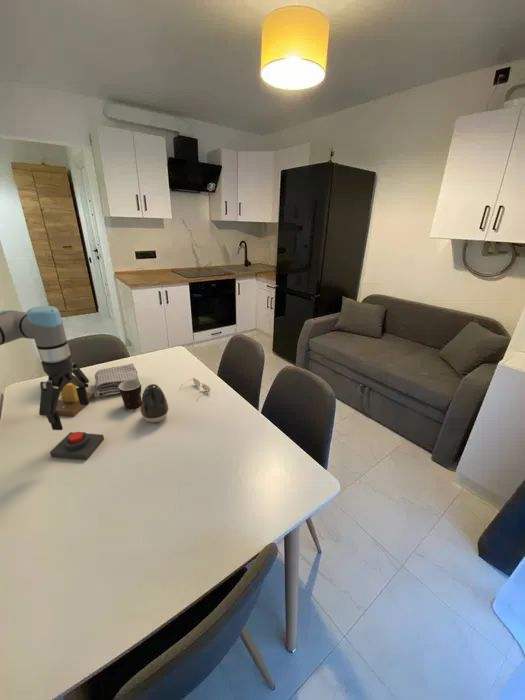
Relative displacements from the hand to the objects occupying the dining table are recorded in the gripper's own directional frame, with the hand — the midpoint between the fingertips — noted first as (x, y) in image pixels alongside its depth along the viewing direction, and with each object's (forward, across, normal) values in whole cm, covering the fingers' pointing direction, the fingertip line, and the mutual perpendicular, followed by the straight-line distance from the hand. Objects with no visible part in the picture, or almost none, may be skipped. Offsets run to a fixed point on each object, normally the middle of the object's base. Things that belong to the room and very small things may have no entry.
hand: (72, 416), depth 96 cm
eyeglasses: (+12, -38, +30) cm, 50 cm away
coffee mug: (+12, -23, +7) cm, 27 cm away
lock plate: (+12, -21, -17) cm, 30 cm away
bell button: (+8, +2, +1) cm, 8 cm away
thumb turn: (+9, -21, -17) cm, 29 cm away
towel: (+12, -38, -6) cm, 40 cm away
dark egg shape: (+12, -17, +20) cm, 29 cm away
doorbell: (+12, +2, +1) cm, 12 cm away
